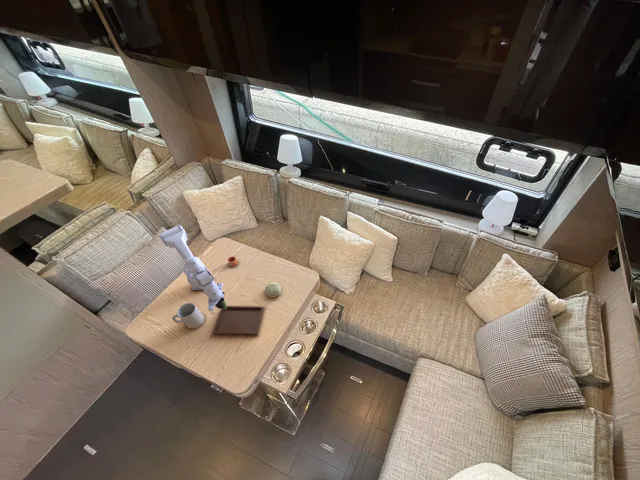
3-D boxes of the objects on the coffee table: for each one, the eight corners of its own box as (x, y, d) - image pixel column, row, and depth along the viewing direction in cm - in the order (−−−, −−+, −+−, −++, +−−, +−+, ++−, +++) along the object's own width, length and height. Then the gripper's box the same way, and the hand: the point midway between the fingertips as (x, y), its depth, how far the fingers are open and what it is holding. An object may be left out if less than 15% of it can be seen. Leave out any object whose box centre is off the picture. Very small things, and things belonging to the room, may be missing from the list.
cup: (228, 266, 165) (226, 262, 162) (231, 260, 168) (228, 256, 165) (236, 266, 165) (234, 262, 162) (238, 260, 168) (236, 256, 165)
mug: (203, 311, 145) (195, 300, 136) (205, 325, 140) (196, 314, 131) (178, 319, 142) (168, 308, 133) (179, 333, 137) (168, 322, 128)
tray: (213, 334, 137) (212, 333, 135) (223, 307, 147) (221, 305, 145) (257, 335, 137) (256, 333, 136) (264, 308, 147) (263, 306, 146)
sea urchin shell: (268, 300, 149) (262, 286, 147) (267, 298, 156) (262, 285, 155) (284, 293, 151) (279, 280, 150) (283, 292, 159) (278, 279, 158)
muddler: (222, 311, 139) (220, 303, 133) (223, 308, 140) (221, 299, 134) (226, 312, 139) (225, 304, 133) (227, 308, 141) (226, 300, 135)
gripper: (215, 303, 122) (225, 318, 132) (225, 277, 131) (233, 293, 141) (199, 303, 121) (210, 318, 132) (210, 277, 131) (220, 293, 141)
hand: (221, 305), depth 137 cm, fingers closed on muddler, 2 cm apart
